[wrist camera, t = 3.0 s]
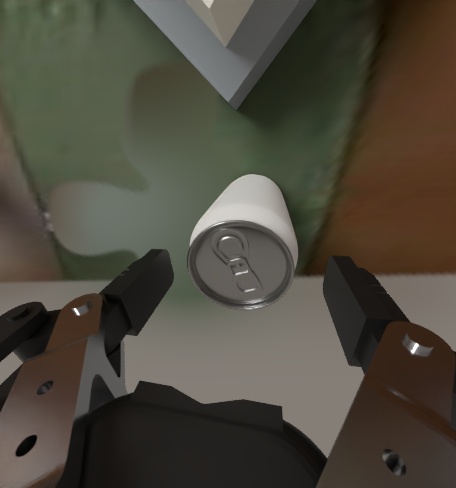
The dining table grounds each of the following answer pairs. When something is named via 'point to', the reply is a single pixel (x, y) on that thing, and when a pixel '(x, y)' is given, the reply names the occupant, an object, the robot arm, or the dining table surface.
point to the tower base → (228, 36)
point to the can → (244, 246)
